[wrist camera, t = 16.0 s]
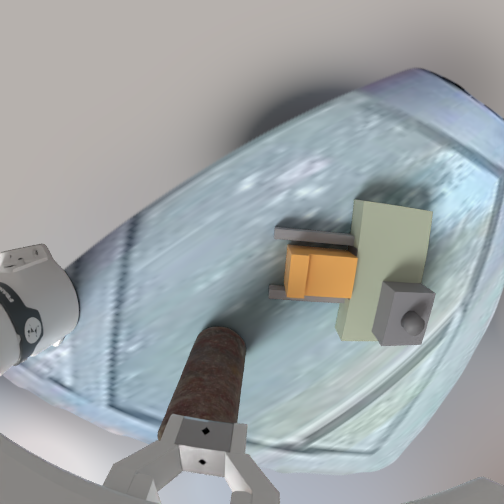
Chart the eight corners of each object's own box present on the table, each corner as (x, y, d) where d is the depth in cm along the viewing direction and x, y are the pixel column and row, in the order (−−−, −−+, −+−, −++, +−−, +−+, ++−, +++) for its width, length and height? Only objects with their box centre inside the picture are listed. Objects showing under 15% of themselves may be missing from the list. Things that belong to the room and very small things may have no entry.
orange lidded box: (283, 281, 39) (286, 297, 33) (287, 244, 38) (291, 254, 32) (341, 285, 39) (353, 301, 33) (346, 249, 38) (360, 260, 32)
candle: (212, 311, 40) (173, 410, 21) (257, 337, 41) (251, 445, 21) (187, 349, 42) (144, 448, 22) (230, 372, 42) (211, 478, 23)
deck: (265, 323, 40) (265, 362, 30) (277, 191, 36) (282, 191, 27) (395, 328, 40) (424, 362, 30) (418, 209, 36) (459, 216, 26)
